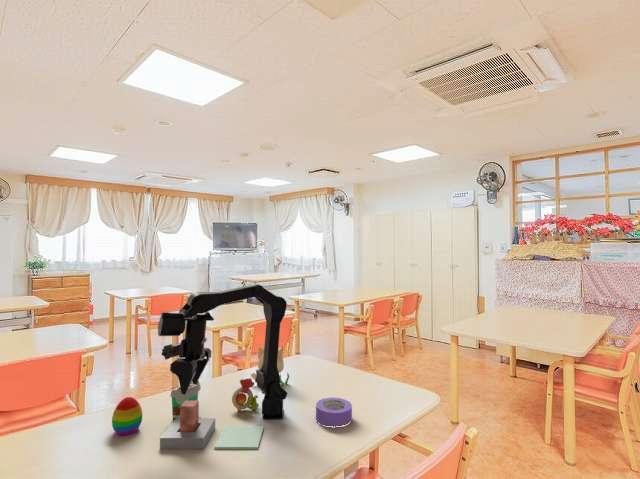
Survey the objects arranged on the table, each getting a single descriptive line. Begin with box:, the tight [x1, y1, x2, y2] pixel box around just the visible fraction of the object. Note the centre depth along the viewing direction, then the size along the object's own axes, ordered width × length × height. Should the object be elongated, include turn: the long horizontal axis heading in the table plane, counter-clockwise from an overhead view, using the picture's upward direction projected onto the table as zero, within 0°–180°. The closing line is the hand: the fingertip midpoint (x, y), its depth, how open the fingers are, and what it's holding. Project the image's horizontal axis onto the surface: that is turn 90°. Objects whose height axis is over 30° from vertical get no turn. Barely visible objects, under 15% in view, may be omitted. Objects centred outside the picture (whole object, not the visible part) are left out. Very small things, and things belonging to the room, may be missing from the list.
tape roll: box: [315, 396, 353, 427], centre depth 120 cm, size 12×12×5 cm
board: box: [213, 425, 265, 450], centre depth 107 cm, size 12×12×1 cm
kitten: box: [250, 346, 290, 387], centre depth 152 cm, size 15×10×15 cm, turn 77°
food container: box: [170, 379, 202, 421], centre depth 122 cm, size 12×6×10 cm, turn 168°
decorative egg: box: [111, 396, 143, 436], centre depth 111 cm, size 8×8×10 cm
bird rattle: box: [231, 377, 260, 412], centre depth 126 cm, size 6×11×9 cm
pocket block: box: [159, 417, 216, 450], centre depth 107 cm, size 12×12×3 cm
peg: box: [180, 400, 200, 432], centre depth 107 cm, size 4×4×10 cm
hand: (189, 388), depth 108 cm, fingers open, 9 cm apart
